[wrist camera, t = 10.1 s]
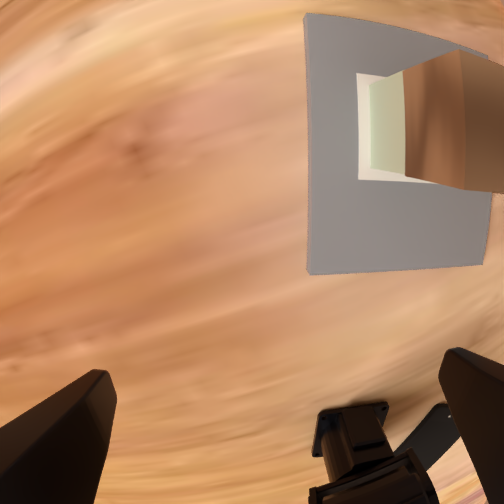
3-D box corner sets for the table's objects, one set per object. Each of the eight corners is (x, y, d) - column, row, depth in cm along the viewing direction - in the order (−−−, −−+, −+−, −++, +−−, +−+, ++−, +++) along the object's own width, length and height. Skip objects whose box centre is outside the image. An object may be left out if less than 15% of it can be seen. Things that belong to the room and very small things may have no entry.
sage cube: (438, 173, 18) (482, 181, 13) (370, 168, 18) (406, 174, 13) (437, 97, 16) (481, 89, 12) (368, 85, 16) (404, 69, 12)
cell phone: (343, 496, 31) (345, 501, 30) (435, 400, 26) (439, 406, 25) (393, 494, 32) (395, 498, 31) (479, 405, 27) (483, 410, 26)
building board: (475, 260, 21) (483, 265, 20) (306, 269, 20) (310, 276, 19) (479, 57, 16) (488, 55, 15) (303, 18, 16) (306, 12, 15)
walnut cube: (480, 182, 13) (541, 198, 9) (404, 176, 13) (463, 190, 9) (479, 90, 12) (539, 83, 8) (402, 71, 12) (458, 48, 7)
